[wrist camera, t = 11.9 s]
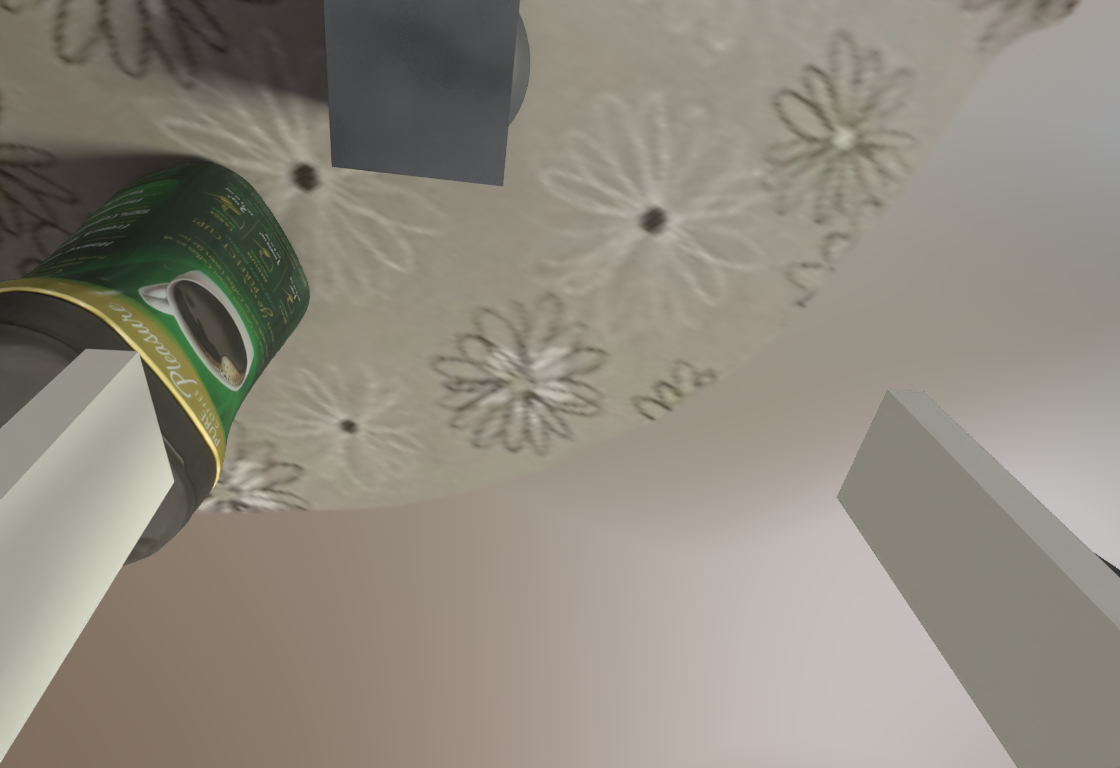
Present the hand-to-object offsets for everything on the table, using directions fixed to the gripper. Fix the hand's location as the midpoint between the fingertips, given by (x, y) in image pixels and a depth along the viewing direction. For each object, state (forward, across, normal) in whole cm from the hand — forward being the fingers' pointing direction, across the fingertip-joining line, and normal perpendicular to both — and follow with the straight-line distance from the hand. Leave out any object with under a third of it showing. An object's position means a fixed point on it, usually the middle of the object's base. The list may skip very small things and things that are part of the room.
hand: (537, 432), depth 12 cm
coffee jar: (+24, -14, -7) cm, 29 cm away
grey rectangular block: (+22, -3, +4) cm, 22 cm away
